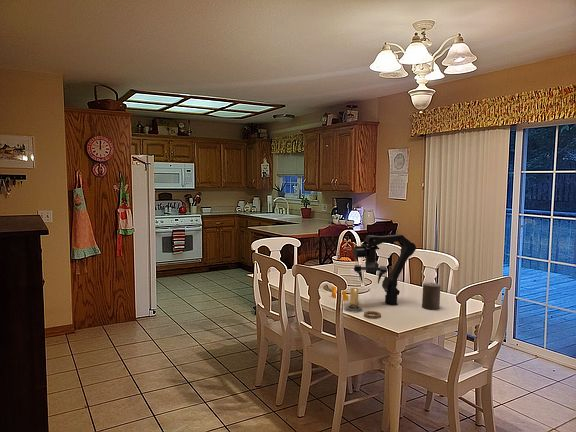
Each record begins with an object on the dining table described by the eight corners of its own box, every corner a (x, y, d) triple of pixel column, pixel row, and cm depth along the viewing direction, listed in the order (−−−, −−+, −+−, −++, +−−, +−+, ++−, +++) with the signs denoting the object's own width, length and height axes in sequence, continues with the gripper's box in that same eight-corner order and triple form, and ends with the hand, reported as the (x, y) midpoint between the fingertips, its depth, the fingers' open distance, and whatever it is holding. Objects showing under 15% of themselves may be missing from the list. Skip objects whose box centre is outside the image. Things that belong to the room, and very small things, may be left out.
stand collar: (380, 314, 237) (380, 311, 236) (381, 319, 228) (381, 316, 228) (364, 313, 238) (364, 310, 238) (364, 318, 229) (364, 315, 229)
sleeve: (359, 309, 245) (359, 288, 244) (355, 311, 241) (356, 290, 240) (352, 308, 248) (352, 287, 247) (348, 309, 244) (349, 288, 243)
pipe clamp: (348, 300, 264) (348, 290, 263) (342, 301, 262) (342, 291, 261) (337, 295, 275) (337, 285, 274) (331, 296, 273) (331, 286, 272)
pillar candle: (428, 310, 244) (429, 284, 243) (418, 305, 254) (419, 280, 252) (443, 309, 247) (444, 283, 246) (433, 304, 256) (434, 279, 255)
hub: (362, 307, 248) (362, 305, 248) (363, 312, 239) (363, 310, 239) (345, 306, 250) (345, 304, 250) (344, 311, 240) (344, 309, 240)
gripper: (354, 258, 245) (353, 285, 246) (388, 260, 242) (387, 287, 243) (354, 255, 256) (354, 281, 257) (386, 256, 253) (386, 283, 254)
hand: (370, 283), depth 253 cm, fingers open, 9 cm apart
